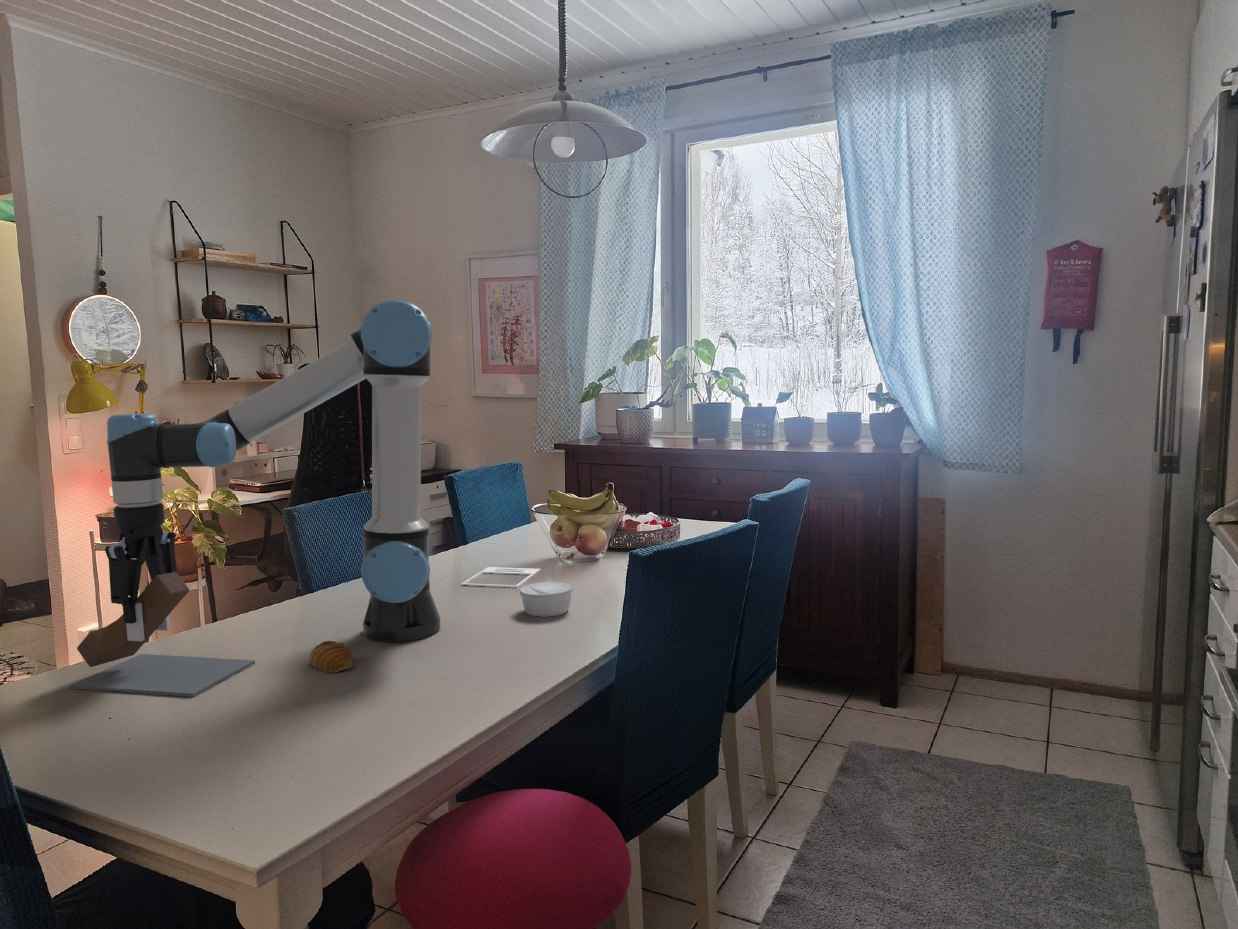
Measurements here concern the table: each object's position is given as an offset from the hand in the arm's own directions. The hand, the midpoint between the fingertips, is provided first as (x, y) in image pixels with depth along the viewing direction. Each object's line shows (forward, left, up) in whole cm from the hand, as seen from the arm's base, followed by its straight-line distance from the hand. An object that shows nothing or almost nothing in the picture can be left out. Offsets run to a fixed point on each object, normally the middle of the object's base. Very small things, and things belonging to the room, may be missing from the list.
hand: (149, 634), depth 147 cm
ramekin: (-58, -48, -8) cm, 75 cm away
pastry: (-29, -10, -8) cm, 32 cm away
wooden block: (+8, +2, -3) cm, 8 cm away
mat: (-3, 0, -7) cm, 8 cm away
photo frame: (-38, -75, -8) cm, 84 cm away
